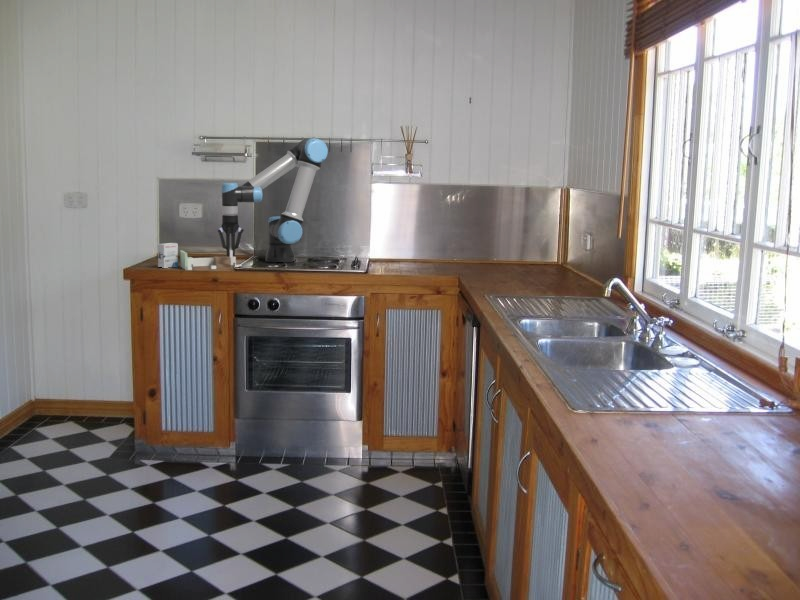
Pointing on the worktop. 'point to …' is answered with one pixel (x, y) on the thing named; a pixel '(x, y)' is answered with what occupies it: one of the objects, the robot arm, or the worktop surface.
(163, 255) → the ink box
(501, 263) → the worktop surface
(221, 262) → the block
